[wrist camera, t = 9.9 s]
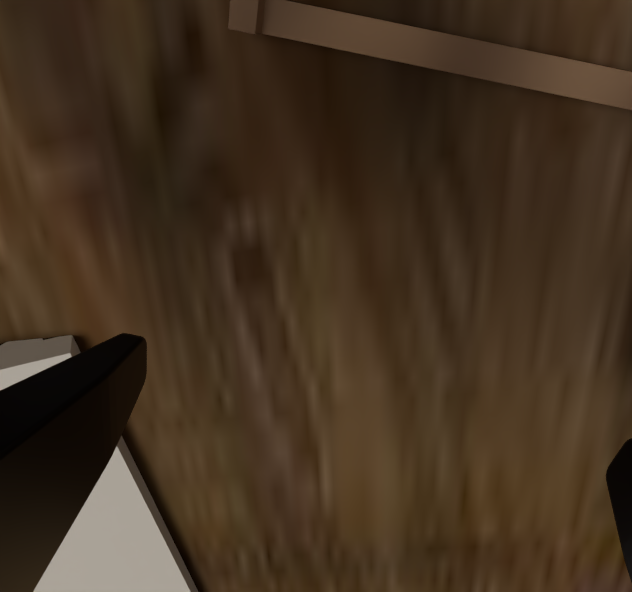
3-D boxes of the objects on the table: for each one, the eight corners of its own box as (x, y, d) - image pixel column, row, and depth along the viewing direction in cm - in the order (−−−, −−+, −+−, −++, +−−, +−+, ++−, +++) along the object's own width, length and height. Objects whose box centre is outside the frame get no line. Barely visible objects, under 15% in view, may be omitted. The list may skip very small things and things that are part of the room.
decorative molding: (93, 305, 27) (-93, 349, 27) (70, 352, 23) (-153, 406, 22) (244, 638, 43) (130, 670, 43) (246, 702, 39) (120, 739, 38)
